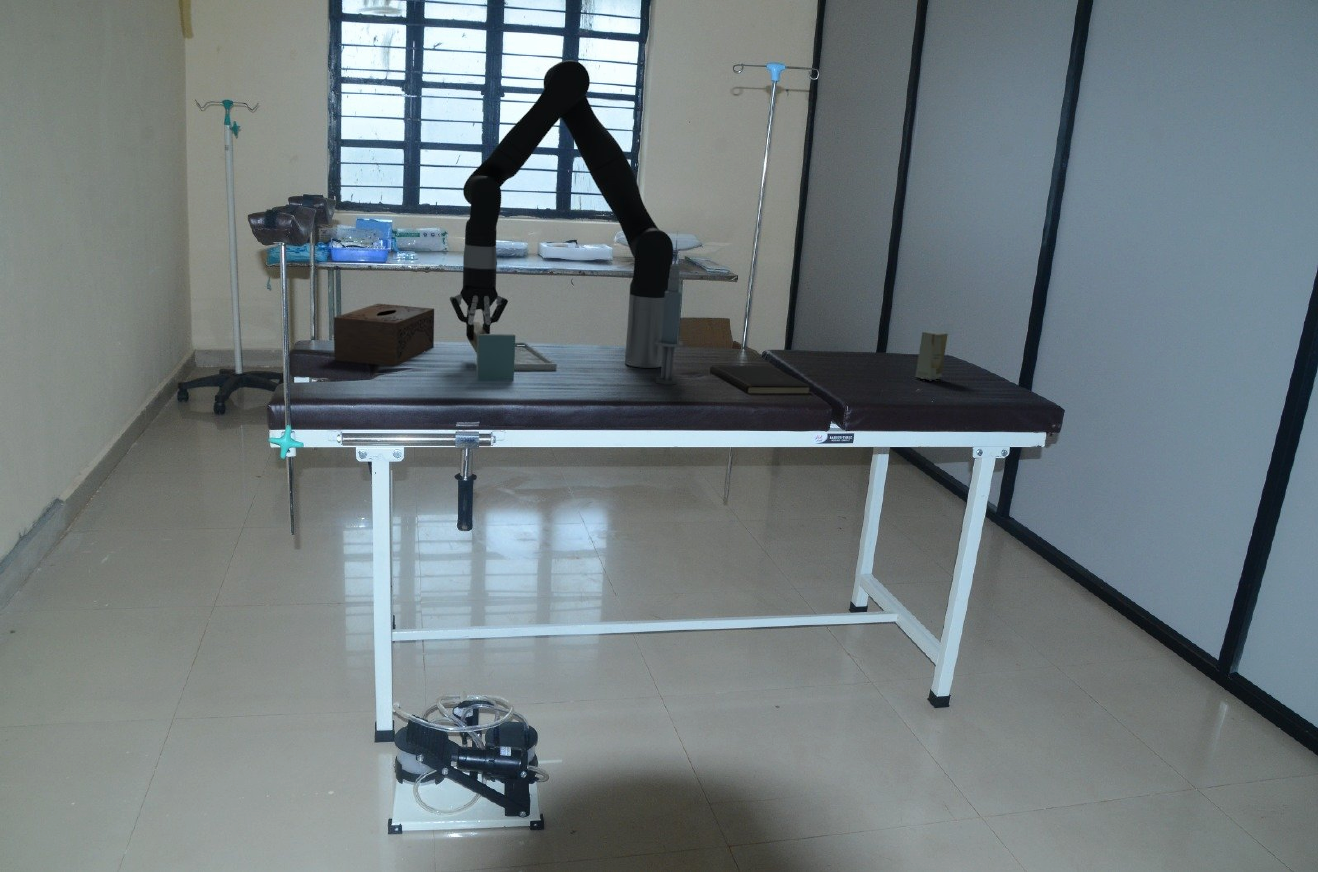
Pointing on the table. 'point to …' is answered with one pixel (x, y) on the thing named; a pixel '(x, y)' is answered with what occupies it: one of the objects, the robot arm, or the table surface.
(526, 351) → the instrument tray
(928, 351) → the skincare box
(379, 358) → the tissue box cover
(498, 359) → the tile
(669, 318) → the syringe
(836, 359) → the table surface
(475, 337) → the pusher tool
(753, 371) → the hardcover book
